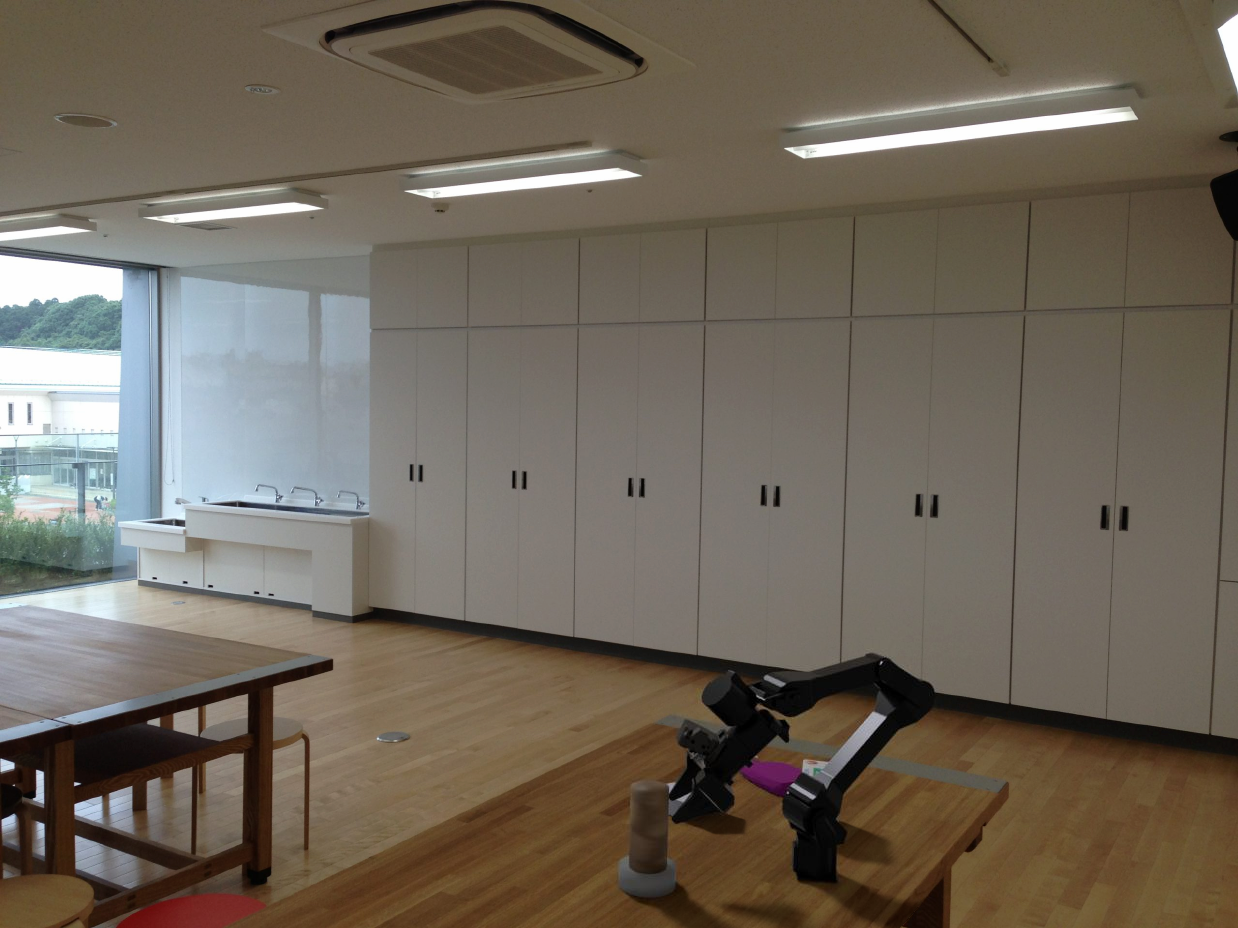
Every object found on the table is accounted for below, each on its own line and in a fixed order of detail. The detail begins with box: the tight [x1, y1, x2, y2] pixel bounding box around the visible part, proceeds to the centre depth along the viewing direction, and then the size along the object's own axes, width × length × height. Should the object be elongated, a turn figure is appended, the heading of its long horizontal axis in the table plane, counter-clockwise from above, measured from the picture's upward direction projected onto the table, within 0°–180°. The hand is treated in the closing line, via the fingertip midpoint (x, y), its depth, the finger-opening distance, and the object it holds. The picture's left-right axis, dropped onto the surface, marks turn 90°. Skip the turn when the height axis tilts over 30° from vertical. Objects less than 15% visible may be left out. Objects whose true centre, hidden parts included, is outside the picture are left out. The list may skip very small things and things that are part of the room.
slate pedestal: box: [617, 855, 677, 899], centre depth 161 cm, size 9×9×3 cm
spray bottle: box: [739, 755, 802, 797], centre depth 213 cm, size 3×11×25 cm
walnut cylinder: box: [628, 779, 670, 874], centre depth 161 cm, size 6×6×12 cm
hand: (671, 809), depth 161 cm, fingers open, 9 cm apart
